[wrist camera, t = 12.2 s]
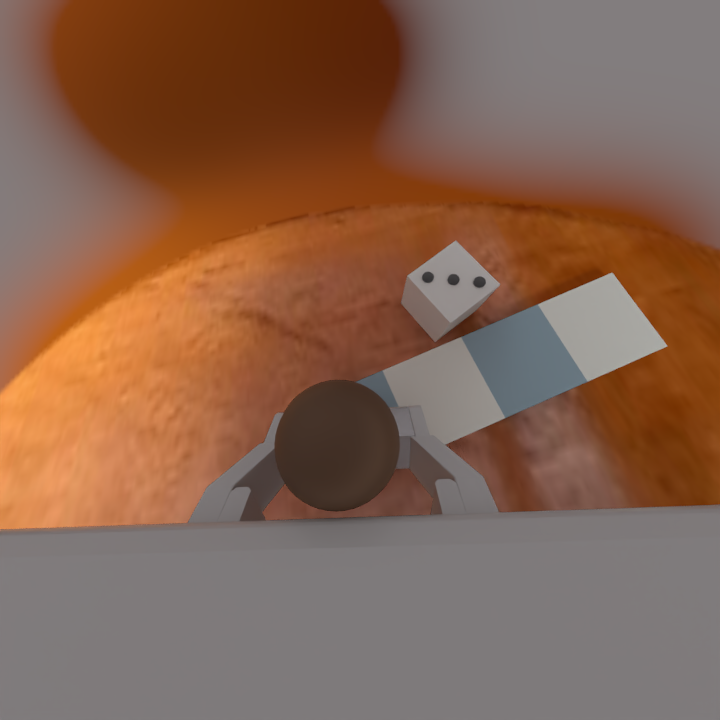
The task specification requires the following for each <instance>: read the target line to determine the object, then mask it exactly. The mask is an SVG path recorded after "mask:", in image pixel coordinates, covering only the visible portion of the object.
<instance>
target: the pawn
mask: <svg viewBox="0 0 720 720" xmlns="http://www.w3.org/2000/svg"><path fill="white" fill-rule="evenodd" d="M274 449H275V460H276V464H277V468H278V470H279V473H280V475H281V477H282V479H283V481H284V483H285V484H286V486H287V487H288V488H289V490H290V491H291V492H292V493H293V494H294V495H295V496H296V497H297V498H299V499H300V500H301V501H303V502H304V503H306V504H308V505H310V506H312V507H315V508H318V509H322V510H327V511H345V510H350V509H354V508H356V507H359V506H361V505H363V504H365V503H367V502H369V501H370V500H371V499H373V498H374V497H375V496H377V495H378V494H379V493H380V492H381V491H382V490H383V488H384V487H385V486H386V485H387V483H388V482H389V480H390V478H391V477H392V475H393V473H394V470H395V468H396V465H397V462H398V458H399V451H400V438H399V431H398V426H397V423H396V420H395V418H394V415H393V413H392V412H391V410H390V408H389V407H388V405H387V404H386V402H385V401H384V400H383V399H382V398H381V397H380V396H379V395H378V394H377V393H375V392H374V391H373V390H371V389H369V388H368V387H366V386H364V385H362V384H359V383H356V382H353V381H347V380H330V381H325V382H321V383H319V384H316V385H313V386H311V387H309V388H308V389H306V390H304V391H303V392H302V393H300V394H299V395H298V396H297V397H296V398H295V399H294V400H293V401H292V402H291V403H290V404H289V405H288V407H287V408H286V410H285V411H284V413H283V415H282V417H281V419H280V422H279V424H278V427H277V431H276V435H275V443H274Z"/></svg>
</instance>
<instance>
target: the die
mask: <svg viewBox="0 0 720 720" xmlns="http://www.w3.org/2000/svg"><path fill="white" fill-rule="evenodd" d="M499 286H500V284H499V283H498V282H497V281H496V280H495V279H494V278H493V277H492V276H491V275H490V274H489V273H488V272H487V271H486V270H485V269H484V268H483V267H482V266H481V265H480V264H479V263H478V262H477V261H476V260H475V259H474V258H473V257H472V256H471V255H470V254H469V253H468V252H467V251H466V250H465V249H464V248H463V247H462V246H461V245H460V244H459V243H458V242H457V241H454V242H453V243H452V244H450V245H449V246H447V247H446V248H445V249H443V250H442V251H441V252H439V253H438V254H436V255H435V256H434V257H432V258H431V259H430V260H428V261H427V262H425V263H424V264H423V265H421V266H420V267H419V268H417V269H416V270H415V271H413V272H412V273H410V274H409V275H408V276H407V279H406V283H405V287H404V292H403V296H402V300H401V304H402V305H403V306H404V308H405V309H406V310H407V311H408V312H409V313H410V314H411V315H412V317H413V318H414V319H415V320H416V321H417V322H418V323H419V325H420V326H421V327H422V328H423V329H424V330H425V331H426V333H427V334H428V335H429V336H430V337H431V338H432V339H433V340H434V342H436V341H437V340H439V339H440V338H441V337H443V336H444V335H445V334H446V333H448V332H449V331H450V330H452V329H453V328H454V327H456V326H457V325H458V324H459V323H461V322H462V321H463V320H465V319H466V318H467V317H469V316H470V315H471V314H472V313H474V312H475V311H476V310H477V309H478V308H479V307H480V306H481V305H482V304H483V303H484V302H485V301H486V300H487V298H488V297H489V296H490V295H491V294H492V293H493V292H494V291H495V290H496V289H497V288H498V287H499Z"/></svg>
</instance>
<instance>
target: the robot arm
mask: <svg viewBox="0 0 720 720" xmlns="http://www.w3.org/2000/svg"><path fill="white" fill-rule="evenodd" d="M389 408H390V410H391V412H392V413H393V415H394V418H395V420H396V423H397V426H398V431H399V438H400V451H399V458H398V462H397V465H396V468H395V469H400V468H410V470H411V472H412V473H413V474H414V475H415V477H416V478H417V479H418V480H419V482H420V483H421V484H422V485H423V487H424V488H425V489H426V490H427V492H428V493H429V494H430V495H431V497H432V498H433V501H432V508H431V515H408V516H379V517H350V518H321V519H291V520H266V519H265V517H264V515H263V513H262V511H263V510H264V509H265V508H266V506H267V505H268V504H269V503H270V501H271V500H272V499H273V498H274V496H275V495H276V494H277V493H278V491H279V490H280V489H281V488H282V486H283V485H284V484H285V483H284V481H283V479H282V477H281V475H280V473H279V470H278V468H277V464H276V460H275V449H274V443H275V435H276V431H277V427H278V424H279V422H280V419H281V417H282V415H283V413H284V412H282V413H277V414H276V415H275V416H274V419H273V421H272V424H271V426H270V428H269V431H268V433H267V436H266V438H265V441H264V443H260V444H259V445H257V446H256V447H255V448H254V449H253V450H251V451H250V452H249V453H248V454H247V455H245V456H244V457H243V458H242V459H241V460H239V461H238V462H237V463H236V464H234V465H233V466H232V467H231V468H230V469H228V470H227V471H226V472H225V473H224V474H222V475H221V476H220V477H219V478H218V479H216V480H215V481H214V482H213V483H212V484H210V485H209V486H208V487H207V488H206V490H205V492H204V494H203V496H202V497H201V499H200V501H199V503H198V505H197V507H196V508H195V510H194V512H193V514H192V516H191V518H190V519H189V521H188V523H173V524H143V525H114V526H85V527H56V528H25V529H0V720H720V505H698V506H669V507H640V508H610V509H582V510H553V511H524V512H499V511H498V509H497V507H496V504H495V502H494V500H493V498H492V495H491V493H490V491H489V488H488V486H487V484H486V482H485V479H484V477H483V476H482V475H481V474H479V473H478V472H477V471H476V470H475V469H473V468H472V467H471V466H470V465H469V464H467V463H466V462H465V461H464V460H463V459H461V458H460V457H459V456H458V455H457V454H455V453H454V452H453V451H452V450H451V449H449V448H448V447H447V446H446V445H445V444H443V443H442V442H441V441H440V440H439V439H437V438H436V437H435V436H434V435H430V434H429V431H428V428H427V424H426V421H425V418H424V414H423V411H422V408H421V406H420V405H415V406H402V407H389Z"/></svg>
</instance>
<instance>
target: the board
mask: <svg viewBox="0 0 720 720" xmlns="http://www.w3.org/2000/svg"><path fill="white" fill-rule="evenodd" d="M665 347H667V345H666V343H665V342H664V341H663V339H662V338H661V337H660V335H659V334H658V333H657V331H656V330H655V329H654V327H653V326H652V325H651V323H650V322H649V321H648V319H647V318H646V317H645V315H644V314H643V313H642V311H641V310H640V309H639V308H638V306H637V305H636V304H635V302H634V301H633V300H632V298H631V297H630V296H629V294H628V293H627V292H626V290H625V289H624V288H623V286H622V285H621V284H620V282H619V281H618V280H617V278H616V277H615V276H614V274H613V273H610V274H608V275H605V276H603V277H601V278H598V279H596V280H594V281H591V282H589V283H587V284H584V285H582V286H580V287H577V288H575V289H573V290H570V291H568V292H565V293H563V294H561V295H558V296H556V297H554V298H551V299H549V300H547V301H544V302H542V303H540V304H537V305H535V306H533V307H530V308H528V309H526V310H523V311H521V312H519V313H516V314H514V315H511V316H509V317H507V318H504V319H502V320H500V321H497V322H495V323H493V324H490V325H488V326H486V327H483V328H481V329H479V330H476V331H474V332H472V333H469V334H467V335H465V336H462V337H460V338H458V339H455V340H453V341H450V342H448V343H446V344H443V345H441V346H439V347H436V348H434V349H432V350H429V351H427V352H425V353H422V354H420V355H418V356H415V357H413V358H411V359H408V360H406V361H404V362H401V363H399V364H396V365H394V366H392V367H389V368H387V369H385V370H382V371H380V372H378V373H375V374H373V375H371V376H368V377H366V378H364V379H361V380H359V381H357V382H356V383H359V384H362V385H364V386H366V387H368V388H369V389H371V390H373V391H374V392H375V393H377V394H378V395H379V396H380V397H381V398H382V399H383V400H384V401H385V402H386V404H387V405H388V407H402V406H415V405H420V406H421V408H422V411H423V414H424V418H425V421H426V424H427V428H428V431H429V434H430V435H434V436H435V437H436V438H437V439H439V440H440V441H441V442H442V443H443V444H445V445H446V444H448V443H450V442H452V441H455V440H457V439H459V438H462V437H464V436H466V435H468V434H471V433H473V432H475V431H477V430H480V429H482V428H484V427H486V426H489V425H491V424H493V423H495V422H498V421H500V420H502V419H504V418H507V417H509V416H511V415H513V414H516V413H518V412H520V411H522V410H525V409H527V408H529V407H531V406H534V405H536V404H538V403H541V402H543V401H545V400H547V399H550V398H552V397H554V396H556V395H559V394H561V393H563V392H565V391H568V390H570V389H572V388H574V387H577V386H579V385H581V384H583V383H586V382H588V381H590V380H592V379H595V378H597V377H599V376H601V375H604V374H606V373H608V372H610V371H613V370H615V369H617V368H619V367H622V366H624V365H626V364H629V363H631V362H633V361H635V360H638V359H640V358H642V357H644V356H647V355H649V354H651V353H653V352H656V351H658V350H660V349H662V348H665Z"/></svg>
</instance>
